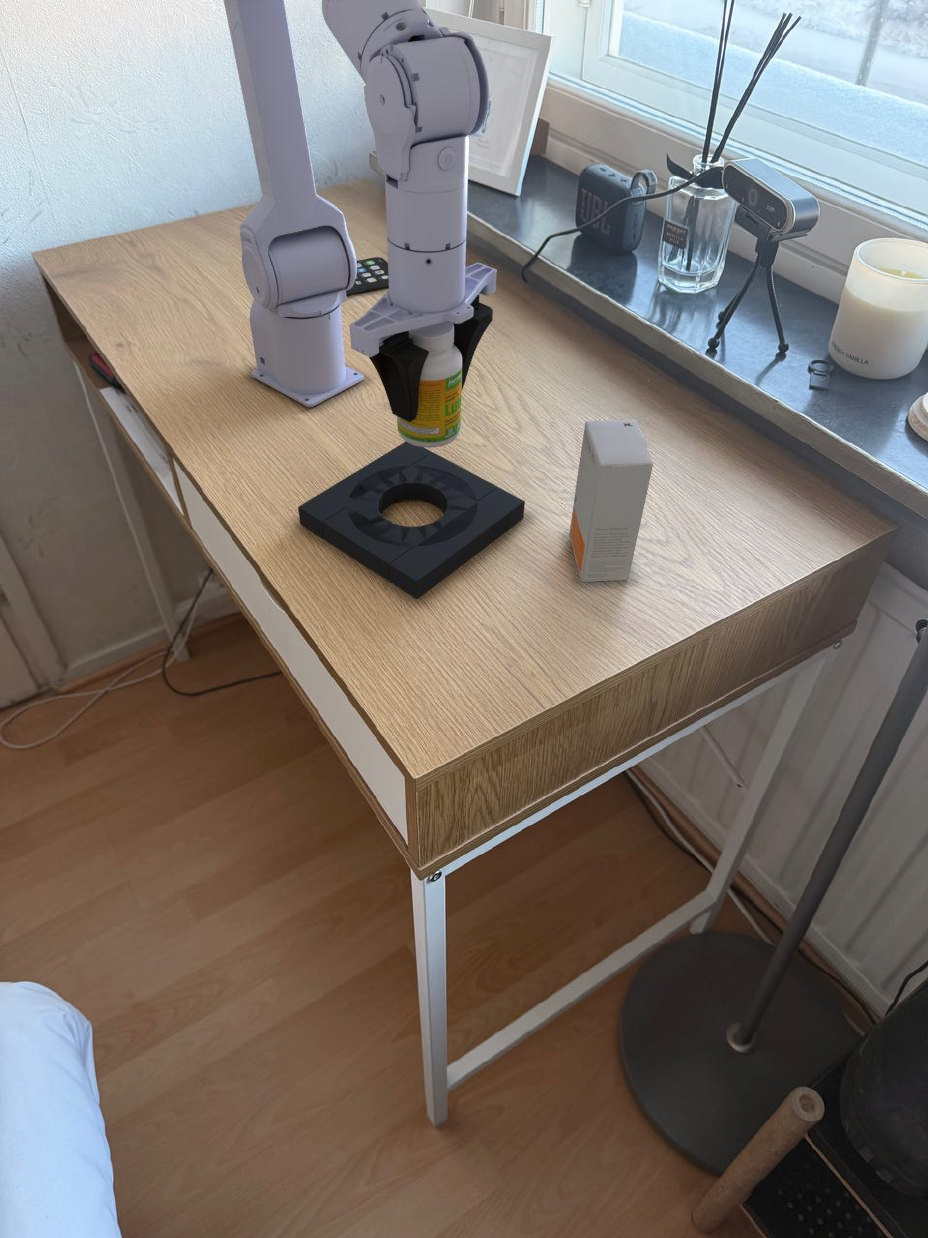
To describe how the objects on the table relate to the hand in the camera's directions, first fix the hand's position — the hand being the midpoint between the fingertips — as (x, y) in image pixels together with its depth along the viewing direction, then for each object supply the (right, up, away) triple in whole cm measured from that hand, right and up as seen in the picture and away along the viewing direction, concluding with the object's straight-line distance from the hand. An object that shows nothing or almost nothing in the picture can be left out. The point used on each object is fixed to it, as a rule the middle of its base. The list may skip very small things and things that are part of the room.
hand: (427, 401), depth 72 cm
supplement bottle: (0, -2, +2) cm, 3 cm away
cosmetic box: (+14, -13, +2) cm, 20 cm away
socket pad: (-1, -9, +5) cm, 11 cm away
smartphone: (-13, +24, +37) cm, 46 cm away
